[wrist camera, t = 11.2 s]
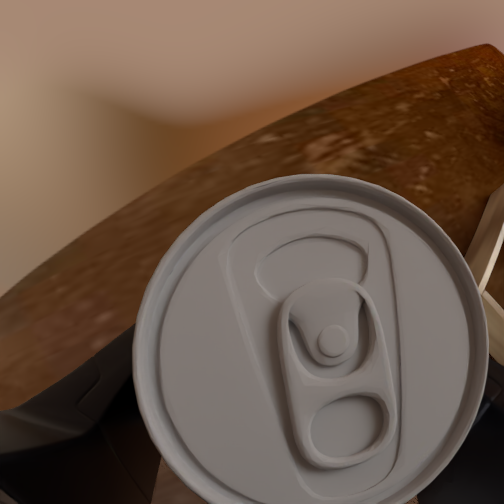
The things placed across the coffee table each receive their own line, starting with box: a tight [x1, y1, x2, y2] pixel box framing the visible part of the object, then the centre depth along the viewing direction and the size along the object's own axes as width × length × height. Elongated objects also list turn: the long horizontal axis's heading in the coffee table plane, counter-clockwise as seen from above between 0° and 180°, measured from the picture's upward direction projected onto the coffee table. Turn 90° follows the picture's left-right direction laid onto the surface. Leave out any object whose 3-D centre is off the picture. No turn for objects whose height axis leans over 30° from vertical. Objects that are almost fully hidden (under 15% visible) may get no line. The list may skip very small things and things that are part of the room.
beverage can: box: [132, 174, 489, 504], centre depth 9 cm, size 6×6×12 cm
